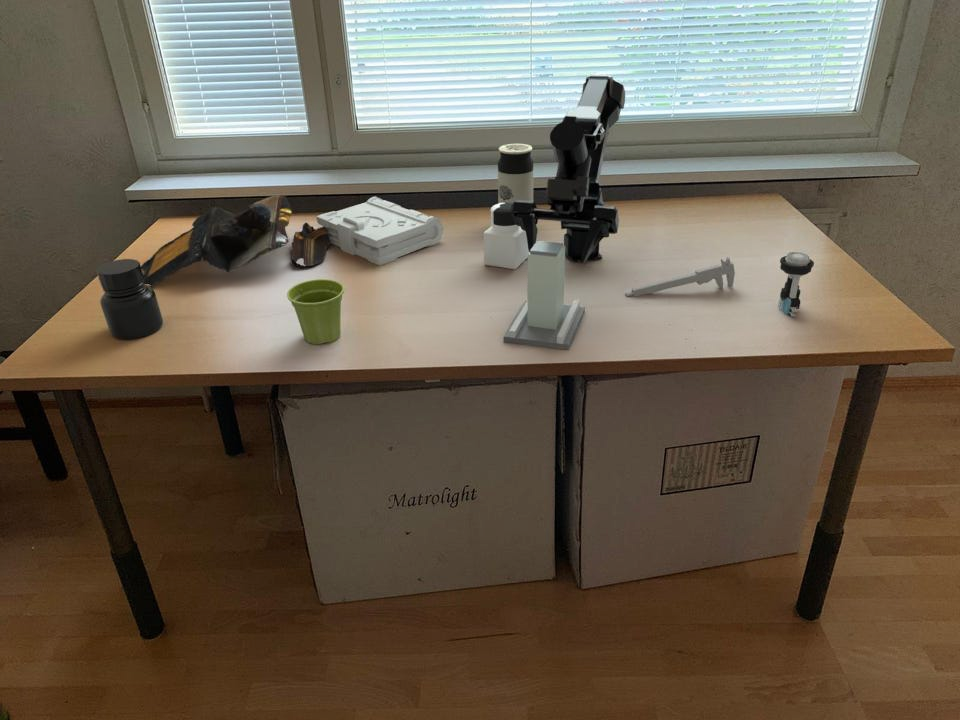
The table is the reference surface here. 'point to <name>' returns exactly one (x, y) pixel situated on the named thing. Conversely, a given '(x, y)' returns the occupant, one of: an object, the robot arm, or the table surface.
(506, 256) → the medicine bottle
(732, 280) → the caliper
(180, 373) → the table surface
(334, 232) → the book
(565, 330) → the rail plate
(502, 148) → the travel mug
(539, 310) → the block
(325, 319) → the plant pot
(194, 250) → the toolset
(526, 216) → the robot arm
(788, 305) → the push button
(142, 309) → the ink bottle
